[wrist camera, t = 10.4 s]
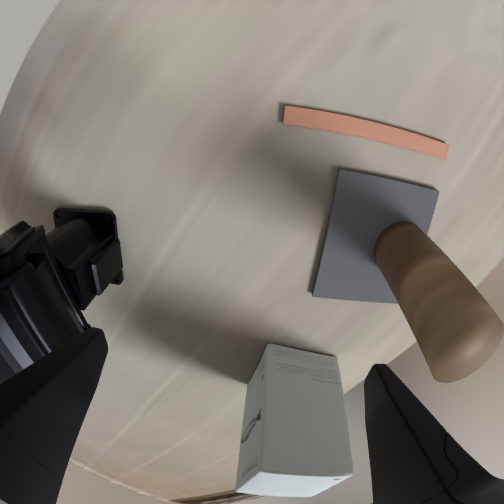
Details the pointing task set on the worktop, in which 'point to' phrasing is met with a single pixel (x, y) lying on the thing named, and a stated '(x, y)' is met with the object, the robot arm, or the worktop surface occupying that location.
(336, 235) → the mat
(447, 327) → the pin
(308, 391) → the supplement box
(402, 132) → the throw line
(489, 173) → the worktop surface
